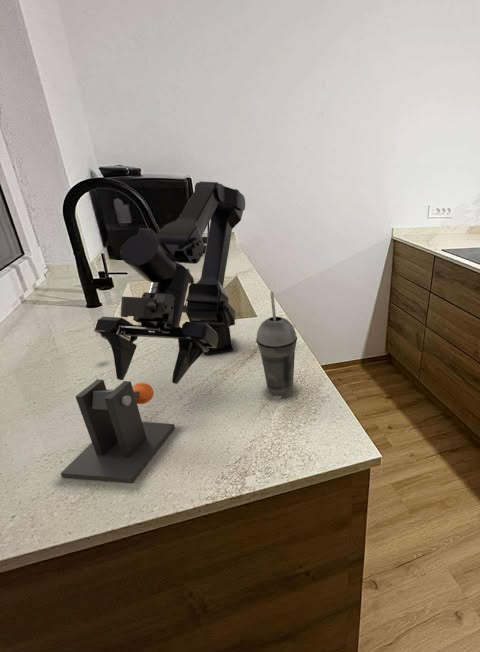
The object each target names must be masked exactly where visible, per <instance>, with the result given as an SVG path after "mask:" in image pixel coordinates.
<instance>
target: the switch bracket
mask: <svg viewBox="0 0 480 652" xmlns="http://www.w3.org/2000/svg"><path fill="white" fill-rule="evenodd" d="M99 390H107V386H106V383H105V380H104V379H99V378H98V379H95V380H94V381H93V382H91V383H90V384H89V385H88V386H87V387H85V388H84V389H82V390H81V391H80V392H79V393H77V394H76V395H75V400H76V403H77V405H78V408H79V411H80V414H81V416H82V419H83V422H84V424H85V428H86V430H87V433H88V435H89V438H90V441H91V443H90V444H88V445H87V446H86V447H85V448H84V450H83V451H81V453H79V454H78V455H77V456H76V457H75V458H74V459H73V460H72V461H71V462H70V463H69V464H68V465H67V466H66V467H65V468H64V469H63V470H62V471H61V472H60V476H61V478H62V479H71V480H73V479H74V480H85V481H86V480H87V481H88V480H89V481H99V482H112V483H114V482H115V483H127V484H134V483H135V481H136V480H137V479H138V477H139V476H140V474H141V473H142V472H143V471H144V469H145V468H146V467H147V465H148V464H149V463H150V462H151V460H152V459H153V458H154V456H155V455H156V454H157V452H158V451H159V450H160V448H161V447H162V446H163V445H164V444H165V442H166V441H167V440H168V438H169V437H170V435H171V434H172V433H173V432H174V430H175V429H176V426H175V424H174V423H166V422H152V421H143V420H142V417H141V416H142V415H141V413H140V410H139V404H137V402H136V398H135V395H134V391H133V384H132V381H131V380H130V381H129V380H123V381H122V383H119V384H118V386H116V387H115V388H114V389H112V390H113V391H112V392H111V393H110V394H109V395H108V396H106V397H105V398H104V399H105V402H106V405H107V408H108V410H103V409H92V402H93V391H99Z"/></svg>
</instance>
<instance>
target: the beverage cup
mask: <svg viewBox="0 0 480 652" xmlns="http://www.w3.org/2000/svg"><path fill="white" fill-rule="evenodd" d="M269 293H270V303H271V313H272V316H271V317H268V318H266V319H265V320H264V321H262V322H261V324H260V325H259V326H258V329H257V332H256V340H255V341H256V344H257V346H258V347H257V348H258V350H259V353H260V356H261V362H262V366H263V372H264V378H265V382H266V388H267V390H268V391H267V392H268V393H269V394H270V395H272V396H275V397H280V400H283V399H288V398H289V397H291V396H292V395H293V388H294V374H295V356H296V354H295V353H296V349H297V341H298V336H297V333H296V329H295V328H294V326H293V323H291V322H290V321H289V320H288V319H286V318H284V317H282V316H277V315H276V305H275V295H274V291H270V292H269Z"/></svg>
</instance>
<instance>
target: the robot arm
mask: <svg viewBox="0 0 480 652" xmlns="http://www.w3.org/2000/svg"><path fill="white" fill-rule="evenodd" d="M245 210H246V197H245V196H244V194H242V193H241V192H240V190H239V189H237V188H231V187H228V186H225V185H223V184H222V183H219V182H218V181H200V180H199V182H196V183H195V185H194V191H193V192H192V195H191V196H190V198H189V200H188V201H187V203H186V205H185V206H184V208H183V210H182V211H181V213H180V214H179V217H177V218H176V219H175V220H173V221H170V222H169V223H166V224H164V226H162V227H161V229H159V230H158V232H157V233H156V232H155V231H154V230H153V228H139V229H138V233H137V234H135V235H132V236H131V237H128V239H126V241H124V243H123V244H121V247H120V251H119V253H120V258H121V259H122V261H123V262H124V263H125V264H127V266H129V267H130V268H131V269H132V270H133V271H135V272H136V273H137V274H138V275H139V276H140V277H142V278H143V280H145V281H147V282H149V283H150V286H149V287H150V288H149V292H146V291H145V292H143V293H142V295H141V297H139V296H120V317H117V316H101V317H99V318H98V319H97V320H96V322H95V325H94V329H93V332H95V333H97V334H99V335H100V337H101V338H102V339H104V340H106V341H107V342H108V343H109V345H110V347H111V350H112V351H111V352H112V354H113V355H112V356H113V361H114V368H115V369H114V370H115V375H116V379H117V380H119V381H124V379H125V377H126V375H127V374H128V370H129V368H130V365H131V363H132V360H133V358H134V355H135V352H136V349H137V347H138V344H136V343H134V342H135V341H137V340H138V338H140V337H141V338H143V337H144V338H154V339H155V338H158V339H171V340H172V339H175V340H177V341H178V352H177V356H176V361H175V365H174V369H173V372H172V379H171V382H172V384H174V385H177V384H179V382H180V381H181V380H182V378H183V377H184V376H185V375H186V373H187V372H188V371H189V369H190V368H191V367H192V365H193V364H194V363H195V362H196V361H197V360H198V359H199V358H200V357H201V356H202V355H205V356H207V355H213V354H220V353H227V352H232V351H234V346H233V343H232V336H231V329H230V327H231V326H235V325H236V311H235V309H234V308H233V307H232V306H231V304H230V303H229V299H230V298H229V296H228V294H227V291H226V290H225V288H224V282H225V277H226V270H227V265H228V264H227V263H228V258H229V251H230V245H231V238H232V232H233V229H234V228H235V227H236V226H237V225H238V224H239V223H240V222H241V221H242V218H243V213H244V211H245ZM208 225H209V227H208ZM207 227H208V234H207V239H206V245H205V243H204V240H203V236H204V233H205V231H206V229H207ZM203 255H204V257H203ZM202 257H203V262H202V268H201V273H200V279H199V280H198V281H197V282H196V283H195V280H194V279H195V278H194V277H193V275H192V274H191V271H190V269H189V268H186V267H185V266H184V265H183V264H188V265H189V264H193V265H196V264H198V263H199V262H200V261H201V259H202ZM183 314H186V316H187V318H188V321H185V322H184V323H183V324H182V325H181V320H182V315H183ZM128 317H133V318H132V320H133V321H134V322H136V323H140V325H139V324H133V323H131V322H129V321H128V320H127V319H125V318H128ZM180 325H181V326H180Z"/></svg>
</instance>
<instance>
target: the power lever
mask: <svg viewBox="0 0 480 652" xmlns="http://www.w3.org/2000/svg"><path fill="white" fill-rule="evenodd" d="M132 387H133V391H134V395H135V398H136V402H137V405H145V404H147V403H149V402H151V401H152V399H153V397H154V394H155V391H154V388H153V386H152V385H150V384H149V383H146V382H139V383H136V384H134V385H132ZM106 389H107V388H106ZM113 390H114V389H107V390H99V391H93V402H92V409H103V410H108V408H107V405H106V402H105V399H104V398H105V397H106V396H108V395H109V394H110V393H111V392H112V391H113Z"/></svg>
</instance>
